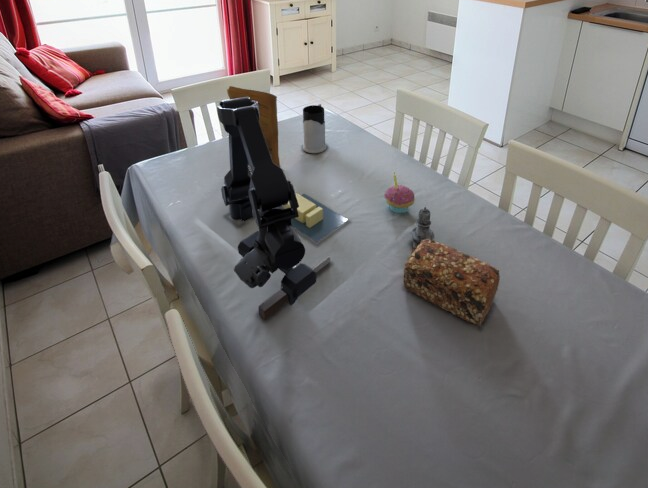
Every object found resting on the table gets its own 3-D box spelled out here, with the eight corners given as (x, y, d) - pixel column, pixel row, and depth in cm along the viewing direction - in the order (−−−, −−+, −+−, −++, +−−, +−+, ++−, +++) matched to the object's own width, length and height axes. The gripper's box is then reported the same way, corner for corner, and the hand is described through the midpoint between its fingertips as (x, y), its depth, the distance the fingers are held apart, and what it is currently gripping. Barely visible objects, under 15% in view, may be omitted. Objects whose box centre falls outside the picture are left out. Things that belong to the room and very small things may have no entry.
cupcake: (380, 214, 121) (381, 178, 117) (389, 197, 129) (391, 163, 124) (409, 222, 118) (412, 185, 114) (417, 204, 126) (420, 169, 121)
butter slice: (305, 225, 115) (305, 214, 114) (319, 216, 118) (319, 206, 117) (309, 228, 114) (309, 217, 113) (323, 219, 117) (322, 208, 116)
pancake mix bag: (274, 178, 137) (268, 97, 126) (232, 161, 146) (224, 84, 136) (288, 168, 142) (284, 90, 132) (247, 152, 152) (240, 78, 141)
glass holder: (299, 151, 153) (297, 113, 147) (310, 133, 166) (309, 97, 160) (323, 154, 151) (322, 115, 146) (332, 135, 164) (332, 99, 159)
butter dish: (272, 215, 120) (272, 212, 120) (304, 196, 129) (303, 193, 128) (316, 245, 109) (316, 242, 109) (348, 222, 118) (348, 219, 117)
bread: (497, 298, 95) (503, 263, 91) (479, 333, 87) (485, 296, 83) (422, 261, 105) (425, 228, 101) (400, 289, 97) (402, 254, 93)
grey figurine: (432, 255, 107) (436, 216, 102) (409, 251, 108) (412, 212, 103) (433, 239, 112) (437, 201, 108) (411, 236, 113) (414, 198, 109)
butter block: (283, 211, 120) (282, 200, 119) (297, 203, 124) (296, 192, 123) (302, 223, 116) (302, 213, 114) (316, 214, 119) (316, 204, 118)
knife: (259, 314, 90) (258, 306, 89) (326, 262, 104) (326, 254, 103) (264, 320, 89) (264, 311, 88) (332, 266, 103) (332, 258, 102)
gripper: (211, 232, 85) (220, 291, 91) (270, 281, 74) (276, 345, 80) (257, 207, 93) (262, 262, 99) (317, 247, 82) (319, 307, 88)
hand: (278, 292), depth 91 cm, fingers open, 9 cm apart
